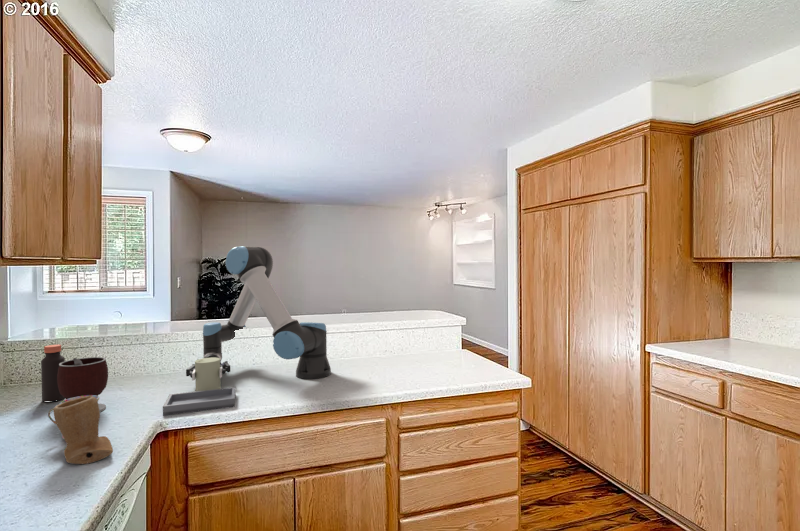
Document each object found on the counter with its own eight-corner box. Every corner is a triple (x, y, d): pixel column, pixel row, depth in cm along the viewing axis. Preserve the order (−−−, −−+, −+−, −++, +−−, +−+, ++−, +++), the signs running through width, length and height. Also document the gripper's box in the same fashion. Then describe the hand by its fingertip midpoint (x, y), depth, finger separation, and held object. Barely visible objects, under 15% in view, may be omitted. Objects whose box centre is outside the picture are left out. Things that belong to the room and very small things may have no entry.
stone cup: (54, 452, 114) (53, 396, 114) (108, 440, 122) (107, 388, 121) (54, 474, 102) (52, 412, 102) (113, 459, 110) (112, 401, 110)
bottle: (45, 398, 160) (44, 345, 160) (68, 395, 163) (66, 343, 163) (39, 403, 154) (37, 348, 154) (62, 401, 157) (60, 346, 157)
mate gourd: (66, 407, 150) (65, 350, 149) (113, 402, 155) (112, 347, 154) (49, 423, 135) (47, 360, 135) (101, 416, 140) (100, 356, 140)
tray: (235, 395, 161) (235, 387, 161) (234, 407, 148) (234, 398, 148) (169, 402, 154) (169, 394, 154) (162, 415, 141) (162, 406, 141)
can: (191, 389, 167) (190, 359, 167) (214, 384, 174) (214, 355, 174) (201, 394, 161) (200, 362, 161) (225, 388, 168) (224, 358, 167)
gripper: (238, 368, 188) (237, 382, 167) (183, 373, 181) (175, 388, 159) (237, 351, 188) (237, 363, 167) (183, 356, 180) (175, 368, 159)
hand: (207, 375), depth 163 cm, fingers closed on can, 9 cm apart
